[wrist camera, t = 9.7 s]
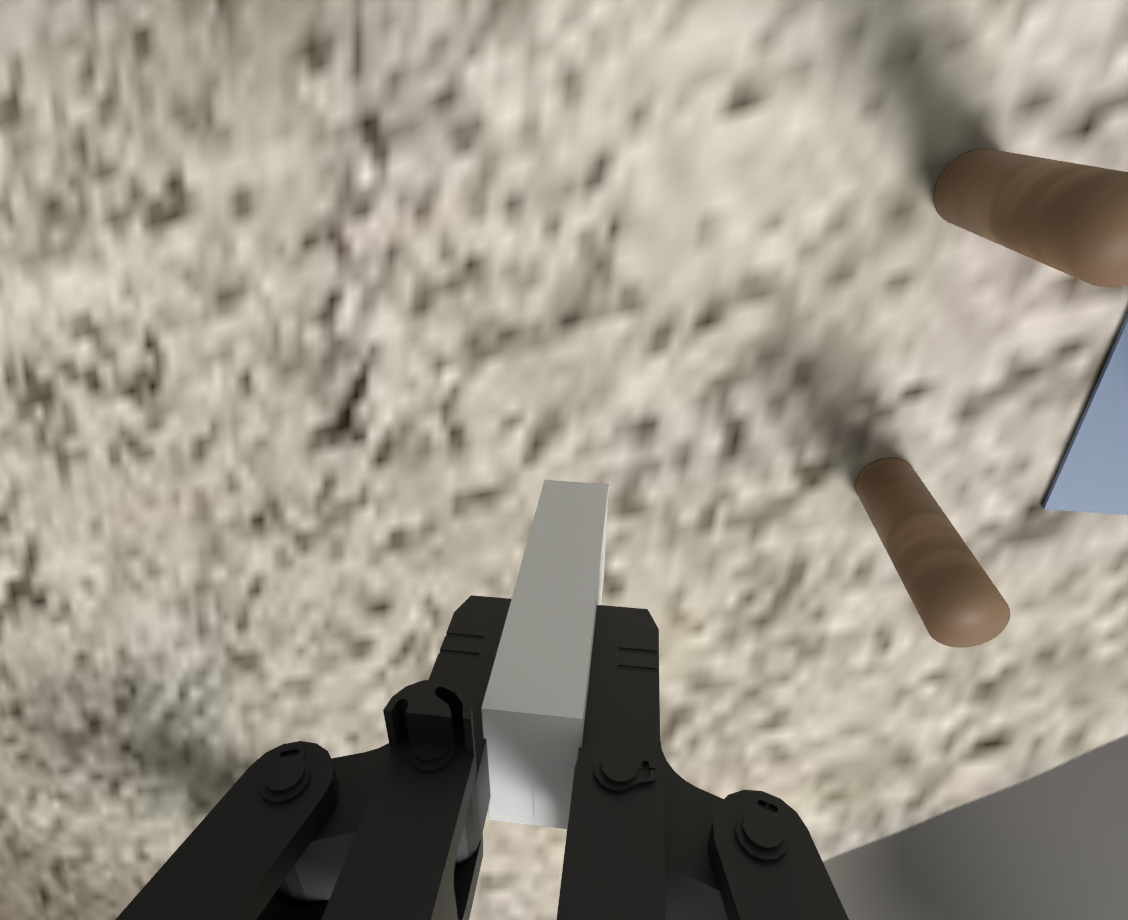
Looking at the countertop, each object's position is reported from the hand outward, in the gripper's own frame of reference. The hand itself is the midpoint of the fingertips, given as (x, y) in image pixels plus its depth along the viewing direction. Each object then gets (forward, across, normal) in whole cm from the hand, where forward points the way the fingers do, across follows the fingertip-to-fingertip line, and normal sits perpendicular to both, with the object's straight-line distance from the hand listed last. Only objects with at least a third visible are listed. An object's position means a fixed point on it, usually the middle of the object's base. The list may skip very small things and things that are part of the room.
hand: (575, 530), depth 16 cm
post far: (+14, +13, -6) cm, 20 cm away
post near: (+14, +13, +6) cm, 20 cm away
